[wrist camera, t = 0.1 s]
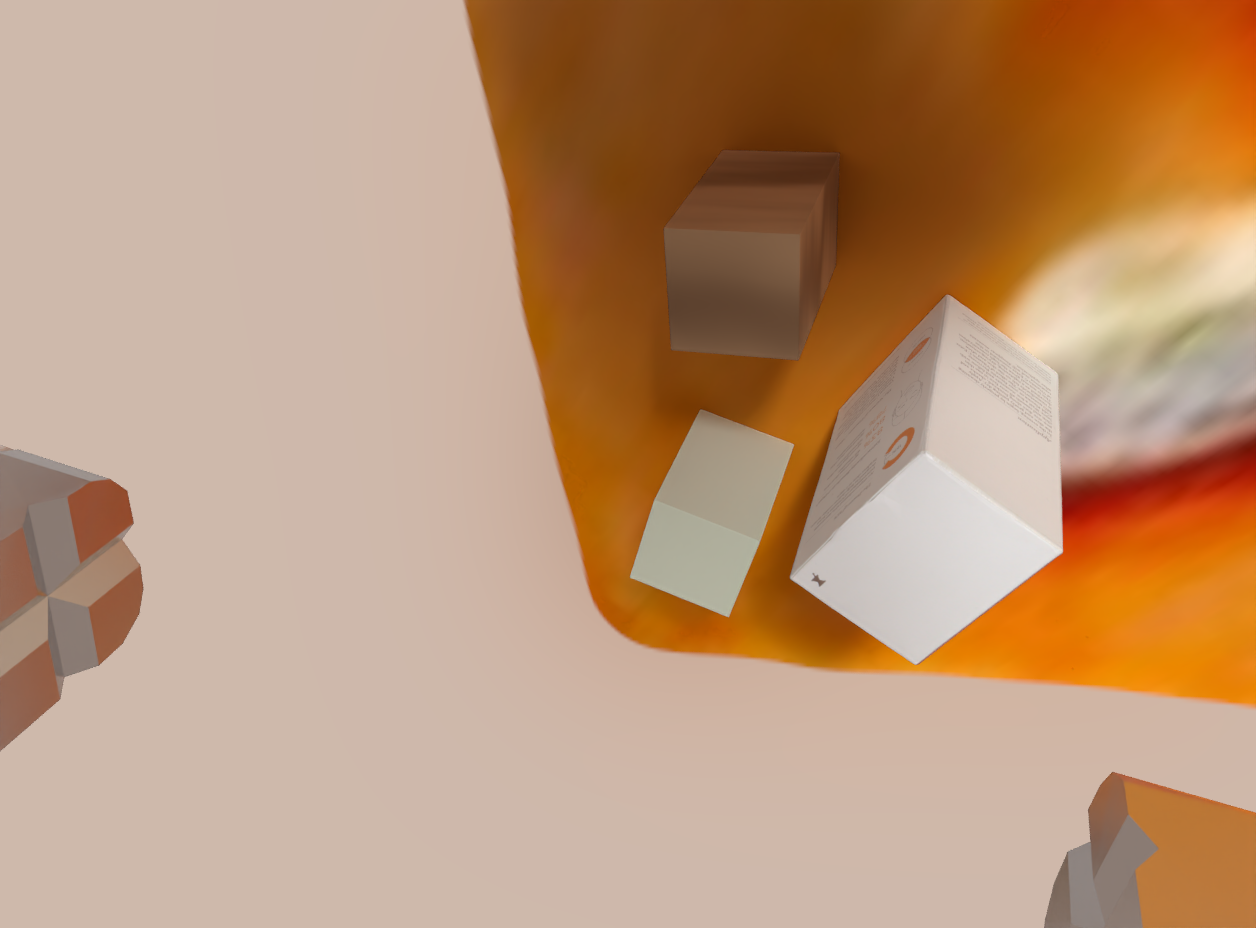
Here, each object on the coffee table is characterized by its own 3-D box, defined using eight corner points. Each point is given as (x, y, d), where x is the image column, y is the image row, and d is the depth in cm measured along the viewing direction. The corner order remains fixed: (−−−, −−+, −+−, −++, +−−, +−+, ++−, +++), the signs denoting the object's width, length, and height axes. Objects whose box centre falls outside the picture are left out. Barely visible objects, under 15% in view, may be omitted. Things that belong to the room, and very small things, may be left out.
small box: (941, 484, 52) (914, 671, 42) (836, 409, 51) (782, 580, 41) (1065, 372, 47) (1068, 554, 37) (949, 287, 46) (919, 448, 36)
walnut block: (722, 150, 46) (663, 228, 39) (839, 152, 45) (800, 234, 38) (725, 258, 49) (671, 350, 42) (836, 264, 47) (798, 360, 40)
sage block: (700, 408, 54) (654, 499, 48) (794, 444, 53) (760, 541, 47) (676, 482, 57) (629, 577, 51) (764, 517, 56) (728, 617, 50)
